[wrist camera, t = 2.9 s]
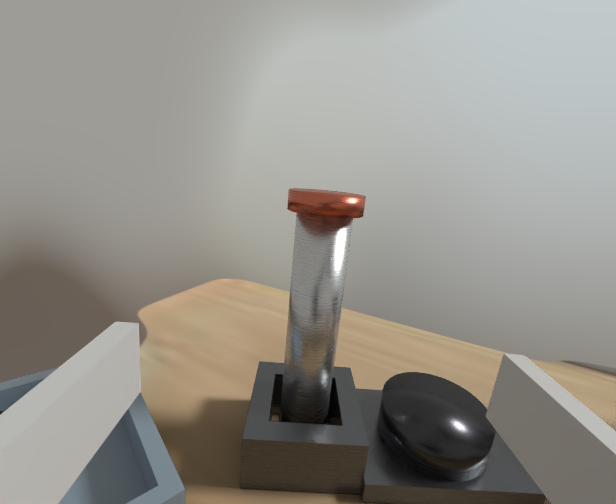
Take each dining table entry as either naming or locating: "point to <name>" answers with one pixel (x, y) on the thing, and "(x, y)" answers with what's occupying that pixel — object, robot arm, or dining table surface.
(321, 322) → the lock pin
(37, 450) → the robot arm
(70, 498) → the tray
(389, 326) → the dining table surface
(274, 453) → the bracket
